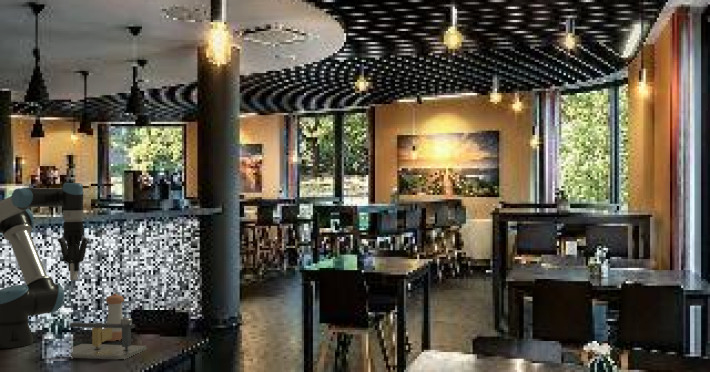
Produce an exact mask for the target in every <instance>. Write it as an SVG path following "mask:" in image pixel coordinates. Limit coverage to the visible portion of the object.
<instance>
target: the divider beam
mask: <svg viewBox="0 0 710 372" xmlns="http://www.w3.org/2000/svg"><path fill="white" fill-rule="evenodd" d="M69 327H70V328H72V327H74V328H94V327H98V328H102V329H104V328H122V340H121V345H122V347H125V349H128V347H129V346H131V345H132V329H134V328H136V323H135V324H134V323H133V318H129V317H126V318H124V317H123V319H121V324H108V323H107V322H106V323H104V322H102V323H99V322H70V323H69Z"/></svg>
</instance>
